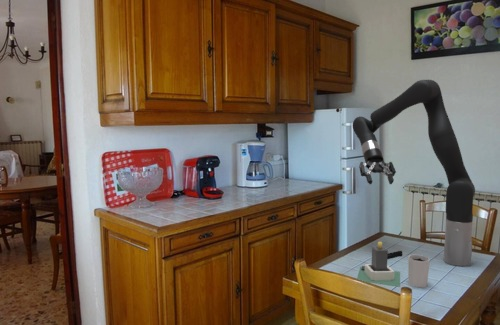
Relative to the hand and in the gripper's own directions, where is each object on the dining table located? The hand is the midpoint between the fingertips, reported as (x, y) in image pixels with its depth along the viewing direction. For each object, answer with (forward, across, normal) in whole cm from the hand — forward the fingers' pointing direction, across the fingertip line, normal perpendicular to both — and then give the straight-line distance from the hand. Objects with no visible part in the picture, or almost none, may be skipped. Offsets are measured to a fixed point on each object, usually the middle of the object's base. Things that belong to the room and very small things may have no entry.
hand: (381, 183), depth 159 cm
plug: (+38, -9, +4) cm, 39 cm away
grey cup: (+44, +1, 0) cm, 44 cm away
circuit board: (+38, -9, +5) cm, 40 cm away
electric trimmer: (+25, +2, +19) cm, 32 cm away
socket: (+38, -9, +4) cm, 39 cm away
